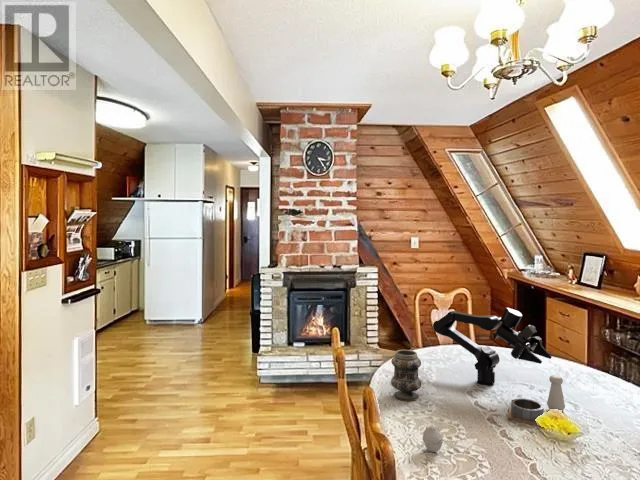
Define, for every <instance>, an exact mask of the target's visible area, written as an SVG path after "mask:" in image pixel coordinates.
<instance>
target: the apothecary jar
mask: <svg viewBox="0 0 640 480" xmlns="http://www.w3.org/2000/svg"><path fill="white" fill-rule="evenodd" d="M391 364H392V367H394V369H393V370H394V371H393V373H394V374H393V376H392V377H391V378H390V379H391V380H390V384H391V386H392V387H393V388H394V389H395V390H396V392H395V393H394V394H393V398H395V399H397V400H398V401H403V402H412V401H417V400H419V397H420V395H419V394H418V393H416V392H415V391H418V390H419V389H420V388H421V387H422V380H421V379H420V378H419V368H420V367H421V365H422V360H421V359H420V358H419V357H418V353H417V351H414V350H410V349H398V350H396V351H395V354H394V356H393V357H392V358H391Z"/></svg>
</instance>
